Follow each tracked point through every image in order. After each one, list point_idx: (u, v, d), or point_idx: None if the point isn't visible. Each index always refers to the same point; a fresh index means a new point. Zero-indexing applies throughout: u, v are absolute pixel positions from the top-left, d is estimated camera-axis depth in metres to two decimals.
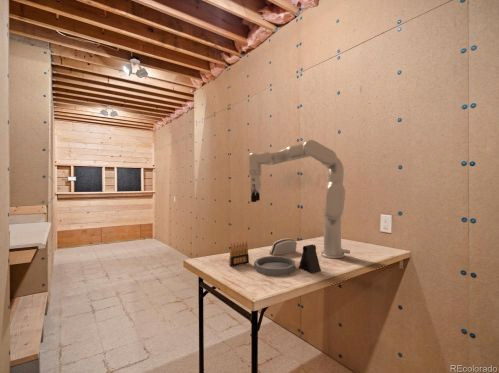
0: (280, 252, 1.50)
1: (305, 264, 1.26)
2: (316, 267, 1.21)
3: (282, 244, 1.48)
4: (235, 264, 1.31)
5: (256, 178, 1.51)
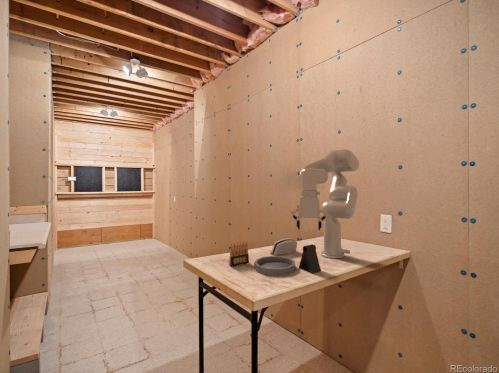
0: (281, 252, 1.50)
1: (305, 264, 1.26)
2: (316, 267, 1.21)
3: (283, 244, 1.48)
4: (235, 264, 1.31)
5: None
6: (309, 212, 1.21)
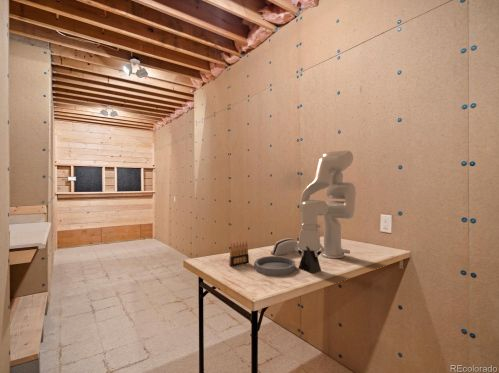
0: (282, 252, 1.50)
1: (305, 264, 1.26)
2: (316, 267, 1.22)
3: (284, 244, 1.48)
4: (235, 264, 1.31)
5: None
6: (309, 246, 1.22)
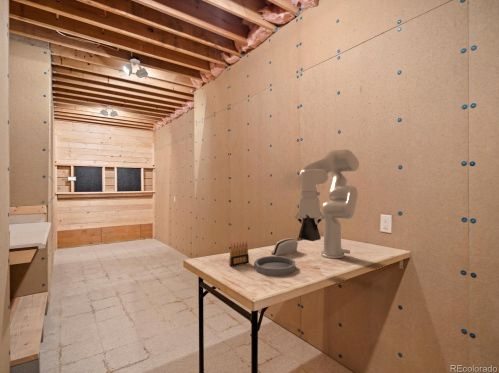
0: (282, 252, 1.50)
1: (304, 233, 1.25)
2: (316, 235, 1.21)
3: (285, 244, 1.48)
4: (235, 264, 1.31)
5: None
6: (309, 213, 1.22)
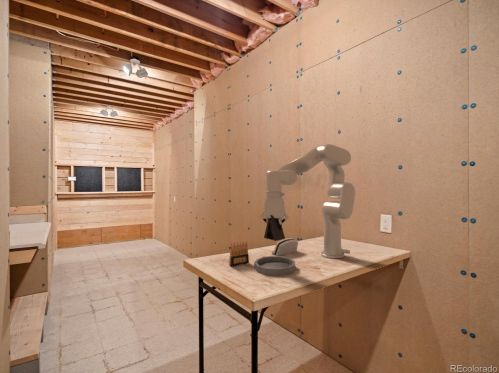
0: (283, 252, 1.50)
1: (270, 233, 1.28)
2: (280, 235, 1.24)
3: (285, 244, 1.48)
4: (235, 264, 1.31)
5: None
6: (273, 213, 1.24)
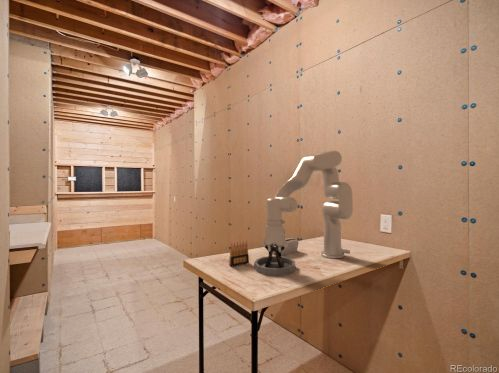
0: (284, 252, 1.50)
1: (269, 262, 1.27)
2: (282, 262, 1.27)
3: None
4: (235, 264, 1.31)
5: None
6: (274, 241, 1.25)
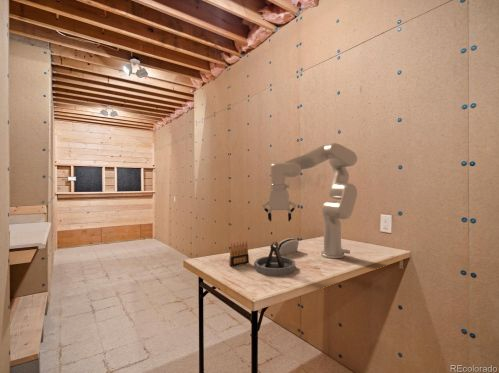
0: (285, 252, 1.50)
1: (269, 262, 1.27)
2: (282, 262, 1.27)
3: (287, 244, 1.48)
4: (235, 264, 1.31)
5: None
6: (278, 205, 1.28)
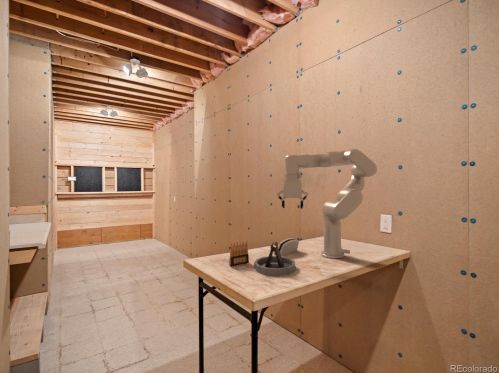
0: (285, 252, 1.50)
1: (269, 262, 1.27)
2: (282, 262, 1.27)
3: (288, 244, 1.48)
4: (235, 264, 1.31)
5: None
6: (292, 193, 1.39)
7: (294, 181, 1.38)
